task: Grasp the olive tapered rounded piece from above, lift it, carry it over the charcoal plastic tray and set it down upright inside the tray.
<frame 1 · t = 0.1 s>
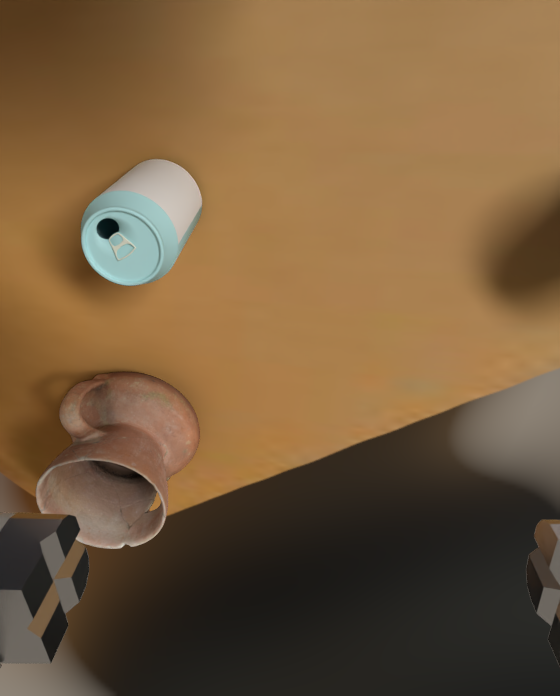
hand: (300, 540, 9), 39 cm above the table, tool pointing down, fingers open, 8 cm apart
can: (164, 197, 45), on the table
ceramic jug: (140, 406, 59), on the table
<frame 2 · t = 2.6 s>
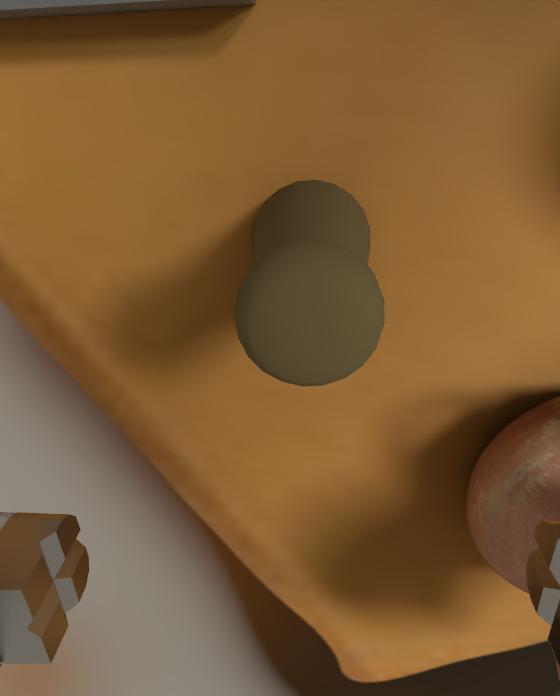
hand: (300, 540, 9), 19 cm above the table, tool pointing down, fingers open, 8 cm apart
olive tapered rounded piece: (310, 240, 26), on the table
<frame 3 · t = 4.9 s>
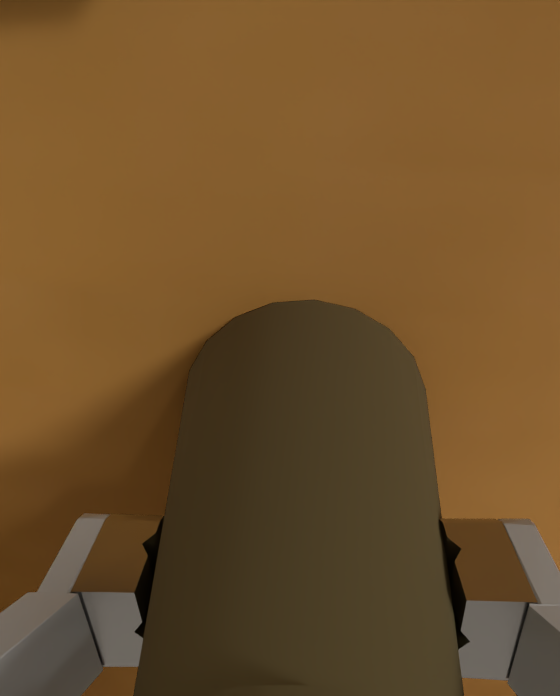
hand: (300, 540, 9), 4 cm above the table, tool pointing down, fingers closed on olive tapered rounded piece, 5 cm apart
olive tapered rounded piece: (303, 407, 13), on the table, touching gripper
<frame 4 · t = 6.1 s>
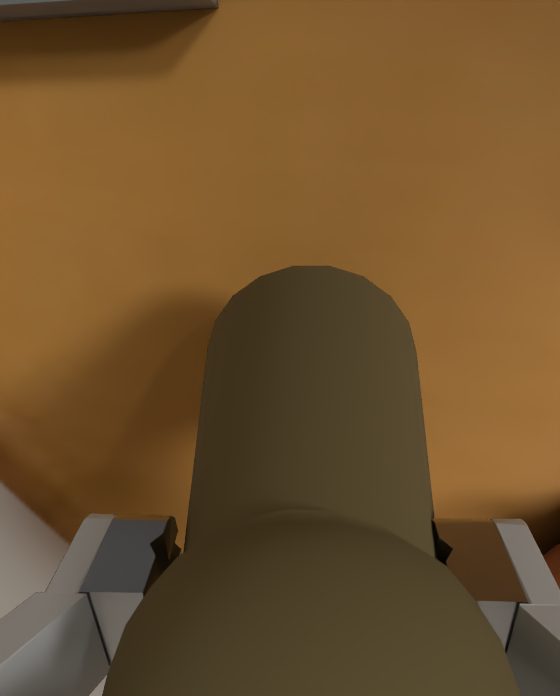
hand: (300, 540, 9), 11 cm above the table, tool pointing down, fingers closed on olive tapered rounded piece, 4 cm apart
olive tapered rounded piece: (310, 361, 15), point 5 cm above the table, touching gripper
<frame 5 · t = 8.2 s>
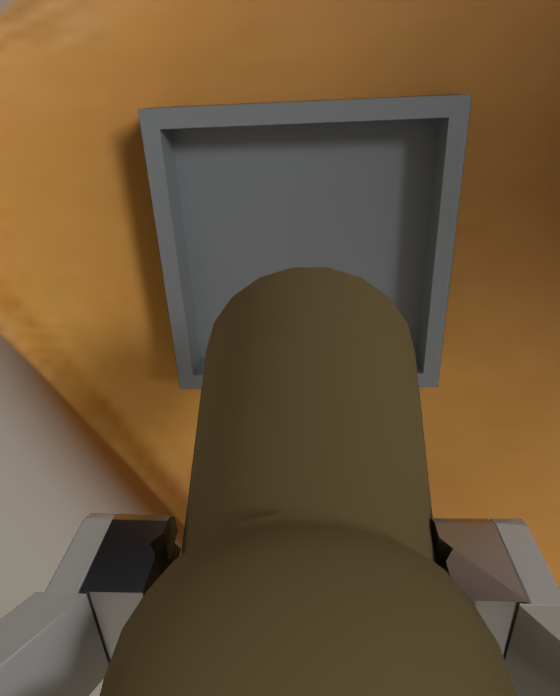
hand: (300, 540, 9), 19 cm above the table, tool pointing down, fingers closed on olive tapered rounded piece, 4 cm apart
tray: (304, 248, 26), on the table
olive tapered rounded piece: (309, 363, 15), point 12 cm above the table, touching gripper
when the fingers open (6 cm above the table, at t = 10.5 s): olive tapered rounded piece stays where it is, resting on tray.
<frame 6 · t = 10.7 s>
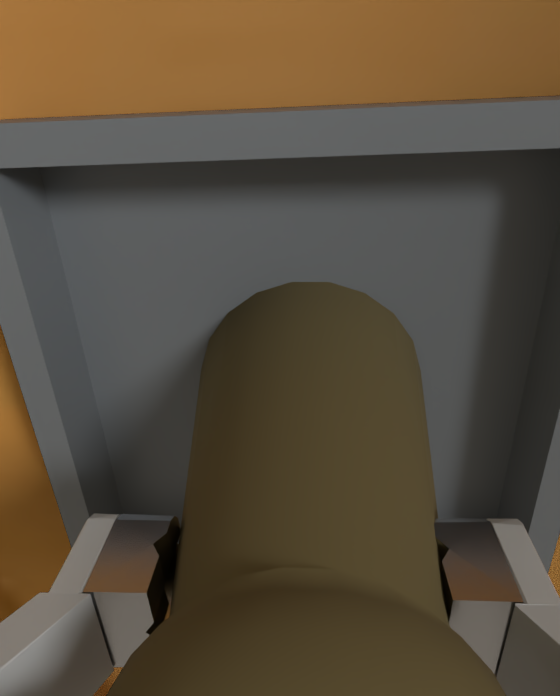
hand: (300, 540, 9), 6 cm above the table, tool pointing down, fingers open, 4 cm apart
tray: (302, 369, 14), on the table
olive tapered rounded piece: (309, 380, 14), resting on tray, touching gripper
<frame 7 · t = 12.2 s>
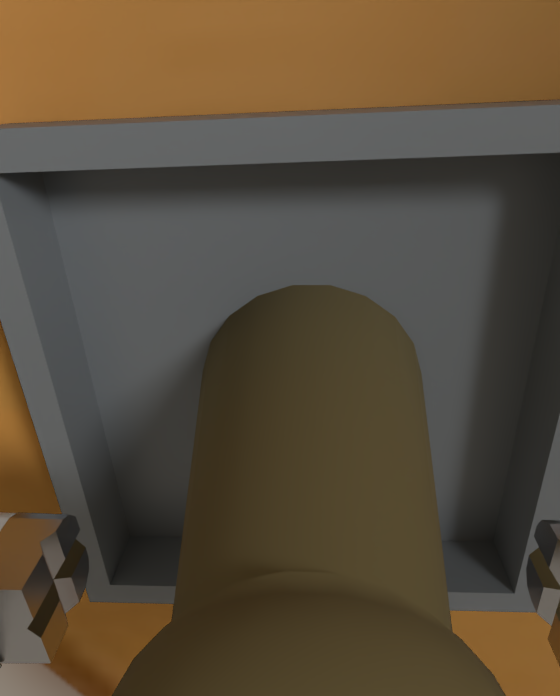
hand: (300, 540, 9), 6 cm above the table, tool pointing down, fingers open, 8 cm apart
tray: (303, 371, 15), on the table
olive tapered rounded piece: (310, 383, 14), resting on tray
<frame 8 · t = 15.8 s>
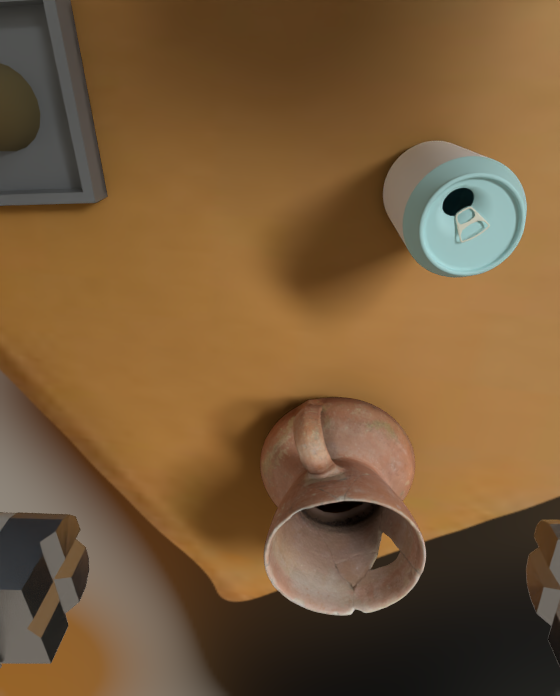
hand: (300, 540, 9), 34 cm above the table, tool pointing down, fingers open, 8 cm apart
tray: (1, 105, 38), on the table
olive tapered rounded piece: (1, 108, 37), resting on tray
can: (427, 188, 39), on the table
ceramic jug: (333, 440, 50), on the table
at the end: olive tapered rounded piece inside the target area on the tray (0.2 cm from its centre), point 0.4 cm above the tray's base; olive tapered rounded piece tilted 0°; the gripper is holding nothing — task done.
